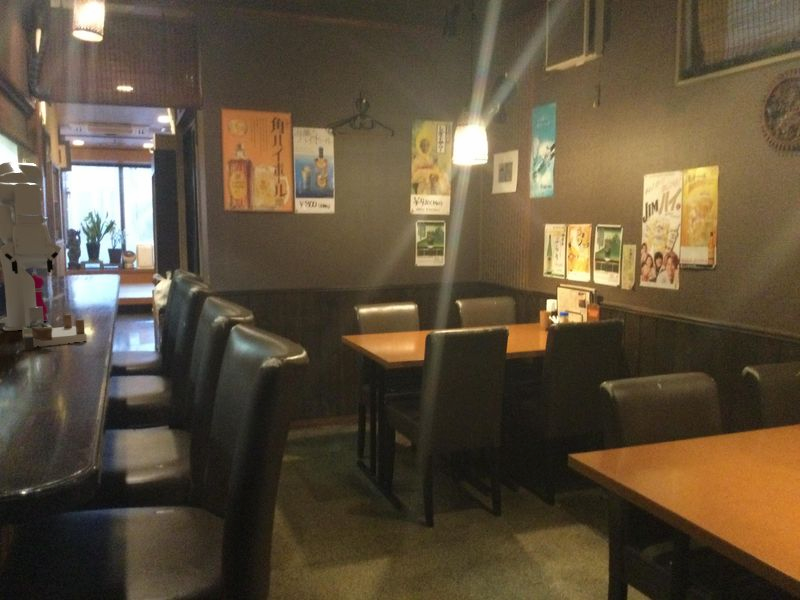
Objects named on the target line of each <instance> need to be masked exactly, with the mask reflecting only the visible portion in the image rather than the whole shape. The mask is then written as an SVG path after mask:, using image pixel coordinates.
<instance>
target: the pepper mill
mask: <svg viewBox="0 0 800 600" xmlns="http://www.w3.org/2000/svg"><path fill="white" fill-rule="evenodd" d="M31 276H32V278H33V279H34V282H35V294H36V307H43V320H47V316H46V315H47V313H48V308H47V305H46V303H45V302H44V299H43V291H44V290H43V285H44V283H45V282H44V279H43V277H42V276H39V275H38V273H37V272H36V271H32V272H31ZM47 321H48V320H47Z"/></svg>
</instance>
